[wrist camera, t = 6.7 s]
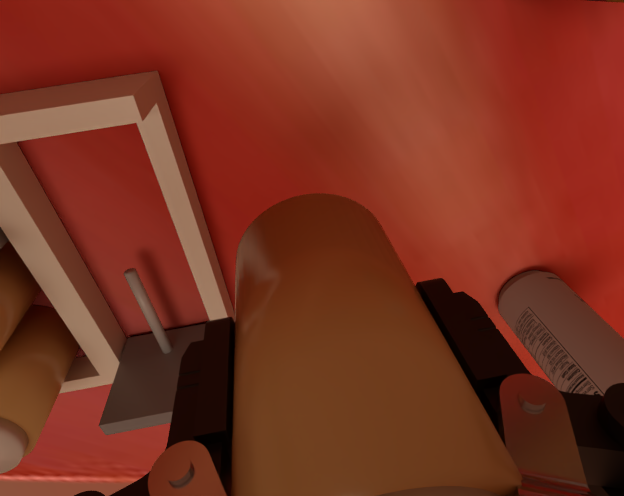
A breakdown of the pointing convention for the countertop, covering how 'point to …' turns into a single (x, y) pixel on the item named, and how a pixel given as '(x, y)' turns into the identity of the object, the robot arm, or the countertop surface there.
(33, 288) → the jar
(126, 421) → the pusher
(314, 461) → the jar
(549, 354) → the energy drink can
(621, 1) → the canned food
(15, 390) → the jar
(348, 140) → the countertop surface
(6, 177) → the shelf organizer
